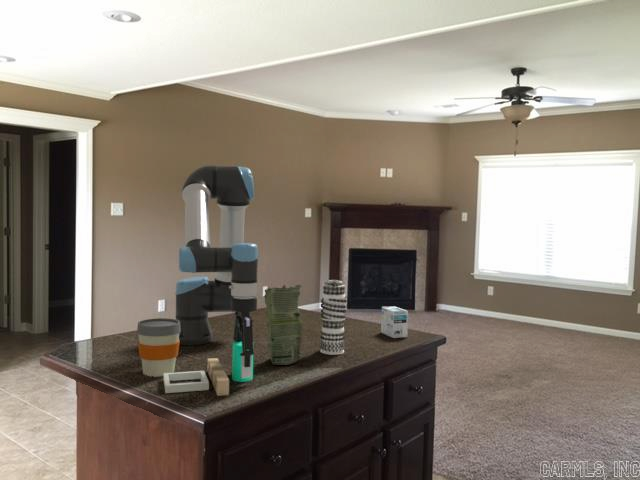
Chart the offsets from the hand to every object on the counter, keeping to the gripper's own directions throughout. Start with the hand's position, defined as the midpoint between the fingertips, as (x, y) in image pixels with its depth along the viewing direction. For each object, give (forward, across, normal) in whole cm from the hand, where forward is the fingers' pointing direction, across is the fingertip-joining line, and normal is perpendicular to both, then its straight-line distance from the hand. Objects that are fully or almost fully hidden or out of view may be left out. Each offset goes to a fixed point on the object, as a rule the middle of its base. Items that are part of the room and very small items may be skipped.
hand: (242, 371), depth 161 cm
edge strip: (+2, +2, -8) cm, 8 cm away
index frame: (+2, +2, -16) cm, 17 cm away
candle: (+2, 0, 0) cm, 2 cm away
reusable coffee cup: (+2, -12, -23) cm, 26 cm away
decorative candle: (+2, -23, +36) cm, 43 cm away
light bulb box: (+2, -42, +69) cm, 81 cm away
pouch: (+2, -15, +16) cm, 22 cm away
